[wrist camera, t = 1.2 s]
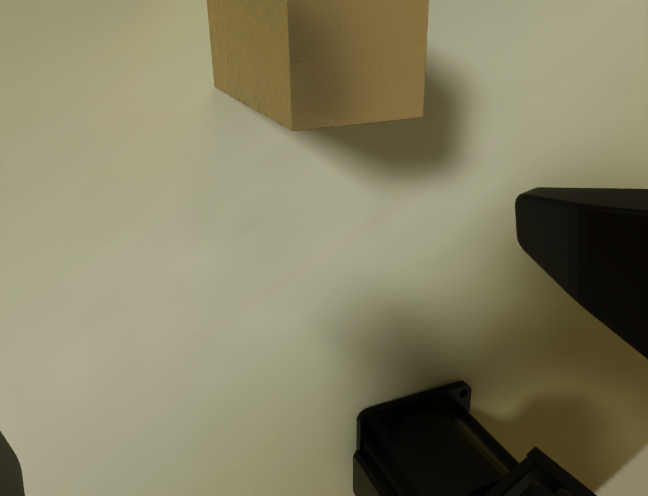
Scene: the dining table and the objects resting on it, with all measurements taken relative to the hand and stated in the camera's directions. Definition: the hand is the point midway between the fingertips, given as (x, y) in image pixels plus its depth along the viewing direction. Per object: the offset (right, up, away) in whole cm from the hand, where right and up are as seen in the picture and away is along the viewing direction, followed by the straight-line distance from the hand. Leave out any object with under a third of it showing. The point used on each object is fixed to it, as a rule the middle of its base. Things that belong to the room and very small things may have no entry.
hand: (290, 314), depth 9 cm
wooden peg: (-2, +9, +11) cm, 14 cm away
